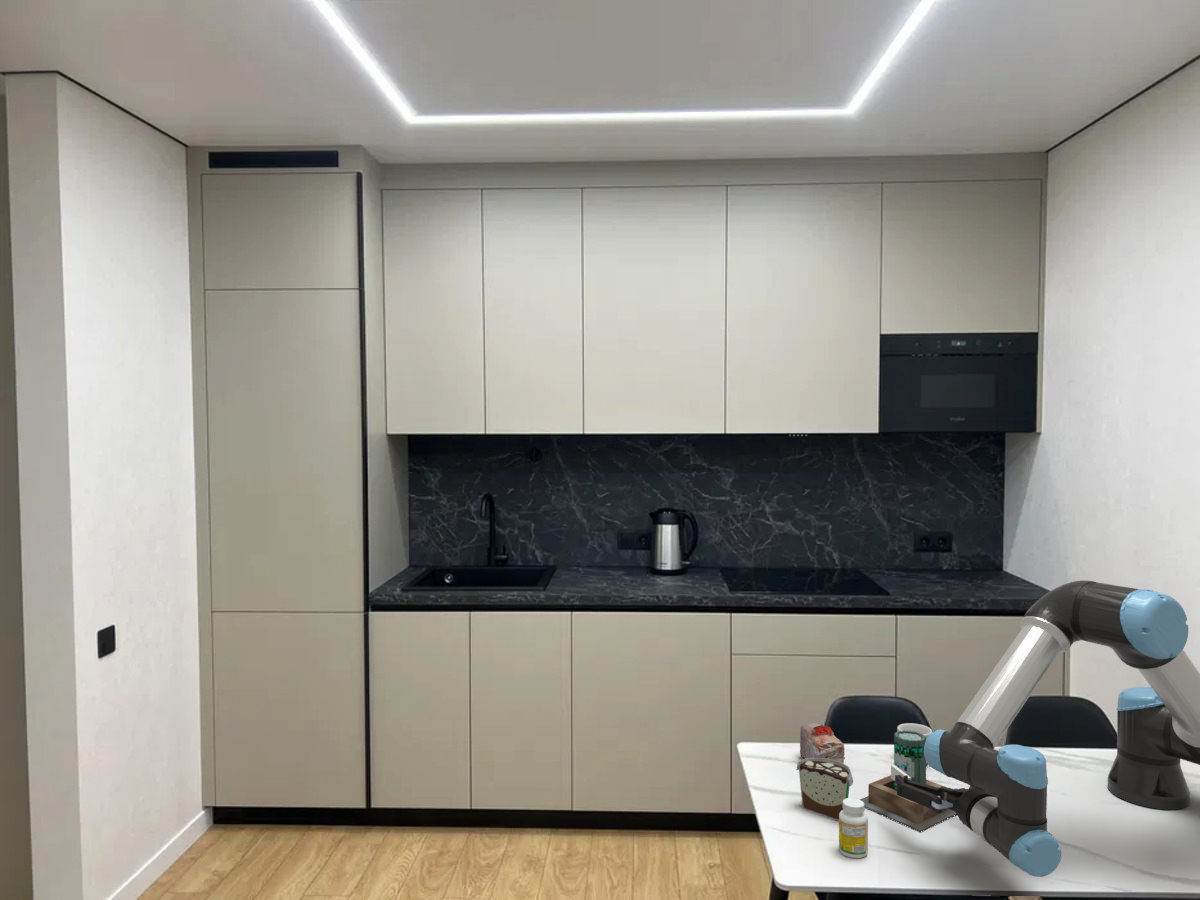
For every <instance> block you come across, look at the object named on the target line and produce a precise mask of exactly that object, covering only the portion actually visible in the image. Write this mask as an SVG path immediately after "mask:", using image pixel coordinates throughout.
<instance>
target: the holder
mask: <svg viewBox="0 0 1200 900" xmlns="http://www.w3.org/2000/svg"><path fill="white" fill-rule="evenodd" d="M926 784H927V785H930V786H934V787H938V788H940V787H941V786H944V785H942V784H939V783H937V782H935V781H932V780H929V779H926ZM867 787H868V795H867V796H865V797H863V798H860V799H859V800H861V801H863V802H864V808H865V809H866V810H869V811H872V812H873V813H875V814H878V815H880V816H882V815H883V817H885V818H887V817H888V818H887V819H889V818H890V819H889V820H891V819H893V820H892V821H894V820H895V821H894V822H896V821H897V822H896V823H898V822H899V823H898V824H900V823H902V824H901V825H903V824H904V825H903V826H905V825H906V826H905V827H907V826H908V827H907V828H909V827H911V828H910V829H911V830H914V829H915V831H916V830H917V831H916V832H918V831H919V832H918V833H922V832H924V831H927V830H928V828H929V829H930V827H931V828H933V827H934V825H935V824H937V823H939V822H941V823H943V822H945V821H947V820H946V819H947V818H950V817H952V816H954V815H956V812H954V811H952V810H950V809H948V808H943V809H942V813H936V812H935V811H933V810H932V809H930V808H928V807H925V806H923V805H920V804H918V803H915V802H913V801H910V800H908V799H905V798H903V797H900V796H898V795H897V791H896V790H894V780H893V779H892V778H891V774H890V775H888V776H885V777H883V778H880V779H877V780H876V781H872V782H871V783H868V786H867ZM944 787H946V786H944ZM946 797H947V792H944V800H945V801H946ZM956 816H957V815H956ZM954 817H955V816H954ZM952 818H953V817H952ZM950 819H951V818H950ZM944 820H945V821H944ZM942 821H943V822H942ZM939 824H940V823H939ZM937 825H938V824H937ZM932 826H933V827H932ZM935 826H936V825H935ZM926 829H927V830H926ZM923 830H924V831H923ZM921 831H922V832H921Z"/></svg>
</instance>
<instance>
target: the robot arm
mask: <svg viewBox="0 0 1200 900" xmlns="http://www.w3.org/2000/svg"><path fill="white" fill-rule="evenodd" d="M1023 615H1024V616H1023V617H1021V619H1020V621H1019V626H1020V631H1019V632H1018V634H1017V635H1016V637H1015V638H1014V640H1013V641H1012V642H1011V643H1010V645H1009V647H1008V648H1007V649H1006V651H1005V652H1004V654H1003V655H1002V657H1001V658H1000V660H999V661H998V662H997V664H996V665H995V667H994V668H993V669H992V670H991V673H990V674H989V675H988V677H987V678H986V680H985V681H984V683H983V684H981V685H982V686H981V687H980V688H979V689H978V691H977V692H976V694H975V695H974V697H972V699H971V700H970V702H969V704H968V705H967V707H966V708H965V710H964V711H963V713H962V714H961V716H960V717H959V718H958V719H957V721H956V722H955V723H954V725H953V726H952V728H951V730H946V729H936V730H934V731H932V733H931V734H930V735H929V736H928V738H927V740H926V742H925V746H924V756H925V759H926V762H927V763H926V764H927V765H928V766H929V767H930V768H931V769H933V770H935V771H936V772H939V773H941V774H942V775H944V776H946V777H947V778H952V779H953V780H957V781H958V782H962V783H964V784H966V785H968V786H969V787H968V788H965V787H961V788H951V787H947V786H945V787H944V785H942V786H941V787H940V788H938V787H934V786H930V785H927V784H923V783H919V782H915V781H912V780H911V777H910V776H908V775H907V774H906V773H904V772H903V771H902V770H901V769H899V768H898V767H897V766H895V765H894V764H891V765H890V775H891V778H892V779H893V780H894V781H895V783H896V784H897V795H898V796H900V797H903V798H905V799H908V800H910V801H913V802H915V803H918V804H920V805H923V806H925V807H928V808H930V809H932V810H933V811H935V812H936V813H942V809H943V808H948V809H950V810H952V811H954V812H956V814H957V815H956V816H957V817H958V820H959V821H960V822H961V823H962V824H963V825H964V826H966V827H967V828H968V829H969V830H970V831H972V832H973V833H975V835H977V836H979V837H980V838H981V839H982V840H984V841H985V842H987V843H988V844H989V845H990V846H991V847H993V848H994V850H996V851H997V852H998V853H1000V854H1001V855H1002V856H1003V857H1005V858H1006V860H1008V862H1009V861H1010V863H1011V864H1012V865H1013V866H1015V867H1017V868H1019V869H1020V870H1021V871H1022V872H1024V873H1026V874H1028V875H1029V876H1032V877H1036V878H1043V877H1047V876H1050V874H1052V873H1054V871H1056V870H1057V868H1058V867H1059V865H1060V864H1061V859H1062V848H1061V846H1060V843H1059V842H1058V840H1057V839H1056V838H1055V837H1054V836H1053V834H1052V833H1050V832H1048V818H1047V814H1048V813H1047V812H1048V811H1047V810H1048V809H1047V807H1048V803H1047V802H1048V785H1049V778H1048V773H1047V772H1048V771H1047V770H1048V769H1047V760H1046V758H1045V755H1044V754H1043V753H1041V751H1039V750H1037V749H1036V748H1033V747H1030V746H1024V745H1021V744H1006V745H1005V744H1004V745H1002V746H1001V747H1000V748H998V750H997V749H995V748H996V746H997V745H998V744H999V742H1000V740H1001V739H1002V737H1003V736H1004V735H1005V733H1006V732H1007V730H1008V729H1009V727H1010V726H1011V724H1012V722H1014V720H1015V719H1016V717H1017V715H1018V714H1019V713H1020V711H1021V710H1022V709H1023V706H1024V705H1025V704H1026V703H1027V701H1028V699H1029V698H1030V696H1031V695H1032V693H1033V692H1034V690H1035V689H1036V688H1037V686H1038V684H1039V683H1040V681H1041V680H1042V678H1044V676H1045V674H1046V673H1047V671H1048V670H1049V668H1050V666H1052V664H1053V662H1054V661H1055V659H1056V658H1057V657H1058V655H1059V653H1061V654H1062V653H1066V652H1068V651H1069V650H1070V648H1071V647H1072V645H1073V644H1074V643H1076V642H1079V641H1085V642H1088V643H1092V644H1096V645H1101V646H1105V647H1108V648H1110V649H1112V651H1113V652H1114V653H1115V655H1116V656H1117V657H1118V658H1119V660H1120V661H1122V663H1123V664H1125V665H1126V666H1129V667H1130V668H1133V669H1137V670H1138V671H1139V673H1140V674H1141V675H1142V677H1143V678H1144V679H1145V681H1146V682H1147V684H1148V685H1149V686H1138V687H1136V686H1135V687H1129V688H1126V689H1123V690H1122V691H1120V693H1119V694H1118V697H1117V699H1118V700H1117V707H1116V711H1117V716H1116V717H1117V718H1116V720H1117V722H1116V723H1117V724H1116V726H1117V728H1116V730H1117V733H1116V734H1117V736H1116V737H1117V738H1116V739H1117V740H1116V741H1117V742H1116V745H1117V747H1116V755H1115V758H1114V761H1113V764H1112V765H1111V768H1110V771H1109V773H1108V775H1107V789H1108V791H1109V790H1110V791H1111V792H1112V793H1111V792H1110V791H1109V792H1110V793H1111V794H1112V795H1114V794H1115V796H1116V797H1117V796H1118V797H1117V798H1119V797H1120V798H1119V799H1121V798H1122V800H1123V799H1124V801H1126V802H1129V803H1132V804H1135V805H1137V806H1142V807H1146V808H1151V809H1157V810H1181V809H1184V808H1187V807H1188V806H1190V802H1191V801H1190V799H1191V798H1190V795H1191V793H1190V788H1189V786H1188V784H1187V781H1186V778H1185V776H1184V773H1183V770H1182V766H1181V760H1182V761H1185V762H1189V763H1192V764H1195V765H1197V766H1200V672H1199V671H1198V669H1197V667H1196V666H1195V665H1194V663H1193V662H1192V660H1191V659H1190V658H1189V656H1188V655H1187V653H1186V652H1185V650H1184V648H1185V646H1186V644H1187V641H1188V638H1189V625H1188V624H1187V621H1188V618H1187V615H1186V612H1185V610H1184V608H1183V606H1182V605H1181V604H1180V602H1179V601H1177V600H1176V599H1175V598H1174V597H1172V596H1170V595H1168V594H1165V593H1161V592H1158V591H1154V590H1152V589H1147V588H1146V589H1145V588H1144V589H1140V588H1134V587H1128V586H1121V585H1115V584H1109V583H1104V582H1097V581H1094V580H1074V581H1071V582H1067V583H1064V584H1061V585H1059V586H1057V587H1055V588H1054V589H1051V591H1049V592H1047V593H1045V594H1044V595H1043V596H1042V597H1041V598H1039V599H1038V600H1037V601H1035V603H1033V604H1032V605H1031V606H1030V607H1029V608H1028V609H1027V611H1026V612H1025V614H1023ZM944 792H947V797H946V801H945V800H944Z"/></svg>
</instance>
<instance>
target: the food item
mask: <svg viewBox="0 0 1200 900" xmlns="http://www.w3.org/2000/svg"><path fill="white" fill-rule="evenodd" d="M834 734H835V732H833V730H832V728H831V727H830V726H829V725H823V724H821V723H808V724H803V725H801V726H800V735H799V736H800V739H799V741H800V742H799V749H800V750H799V753H800V756H801V757H802V759H803V758H804V759H807V758H825V759H831V760H835V761H838V762H841V763H843V764H845V759H846V757H845V754H846V753H845V744H844V743H843V742H842V741H841V740H840V739H839V738H837V737H836V736H835V735H834Z"/></svg>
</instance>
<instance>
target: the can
mask: <svg viewBox="0 0 1200 900" xmlns="http://www.w3.org/2000/svg"><path fill="white" fill-rule="evenodd" d="M925 742H926V736H925V735H923V734H921V733H918V732H915V731H905V730H904V731H896V732H894V734H893V745H894V746H893V765H895V766H897V767H898V768H899V769H901V770H902V771H903V772H904V773H906V774H907V775H908V776H910V777H911V780H912V781H915V782H919V783H923V784H926V780H927V763H926V759H925V756H924V746H925ZM894 790H896V791H897V784H896V783H895V781H894Z"/></svg>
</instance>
